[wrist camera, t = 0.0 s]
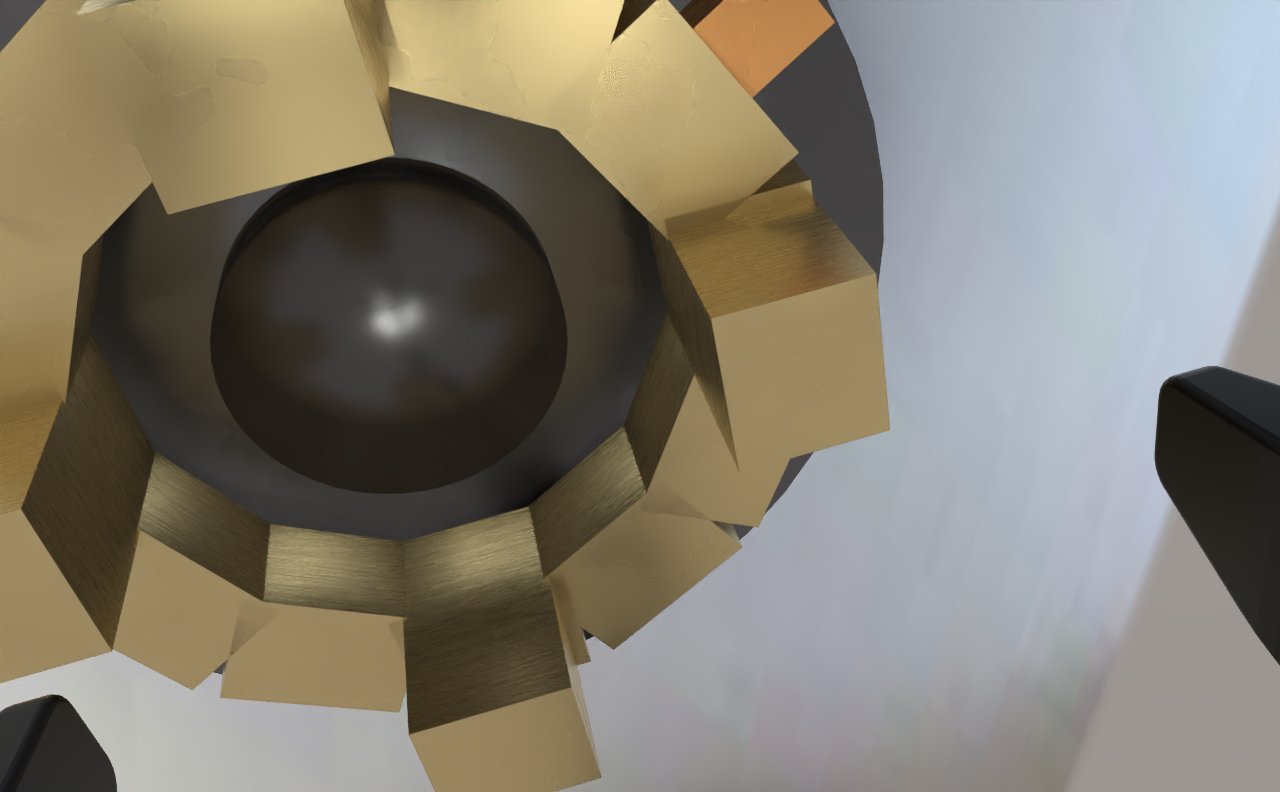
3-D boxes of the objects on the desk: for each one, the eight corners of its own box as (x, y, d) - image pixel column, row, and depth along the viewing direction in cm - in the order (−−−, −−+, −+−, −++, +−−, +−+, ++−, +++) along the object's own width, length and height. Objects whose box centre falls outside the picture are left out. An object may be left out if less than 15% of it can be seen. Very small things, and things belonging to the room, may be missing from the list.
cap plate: (897, 524, 30) (937, 590, 28) (116, 750, 29) (98, 837, 27) (813, -415, 19) (870, -421, 17) (-475, -109, 18) (-585, -74, 16)
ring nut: (859, 504, 28) (957, 671, 23) (161, 705, 27) (122, 920, 22) (776, -235, 19) (908, -195, 14) (-272, 23, 18) (-477, 153, 13)
